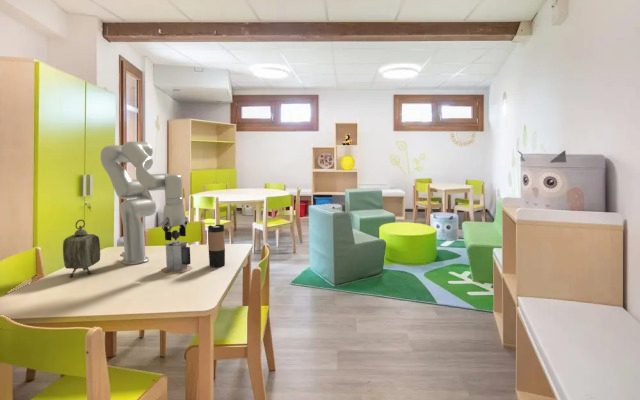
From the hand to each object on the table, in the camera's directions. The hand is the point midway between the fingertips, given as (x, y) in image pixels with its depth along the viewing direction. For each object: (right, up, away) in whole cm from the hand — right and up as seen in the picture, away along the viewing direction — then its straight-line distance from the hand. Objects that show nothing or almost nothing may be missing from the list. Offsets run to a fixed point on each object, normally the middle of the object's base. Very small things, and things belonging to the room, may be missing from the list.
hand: (175, 238), depth 192 cm
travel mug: (+17, -15, +8) cm, 24 cm away
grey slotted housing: (+1, -15, +1) cm, 15 cm away
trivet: (0, -15, +2) cm, 15 cm away
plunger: (0, -11, +1) cm, 12 cm away
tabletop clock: (-40, -16, -4) cm, 43 cm away
